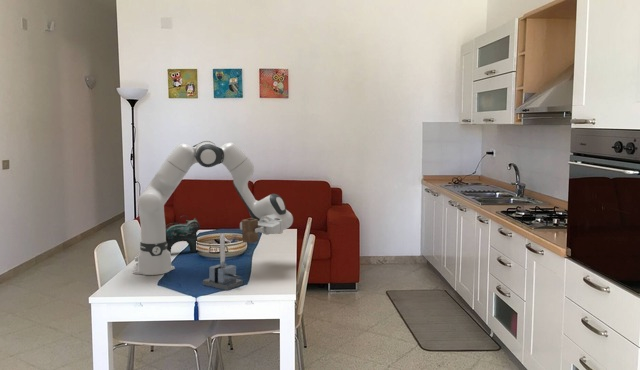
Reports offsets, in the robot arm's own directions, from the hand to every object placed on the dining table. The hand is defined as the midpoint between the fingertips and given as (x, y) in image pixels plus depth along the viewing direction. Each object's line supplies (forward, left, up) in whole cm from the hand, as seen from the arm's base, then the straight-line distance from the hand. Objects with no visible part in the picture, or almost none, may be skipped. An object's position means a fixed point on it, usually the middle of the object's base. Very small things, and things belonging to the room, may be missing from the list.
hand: (248, 229), depth 253 cm
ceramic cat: (-56, -16, -22) cm, 63 cm away
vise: (+8, -14, -22) cm, 27 cm away
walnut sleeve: (0, +1, -5) cm, 6 cm away
